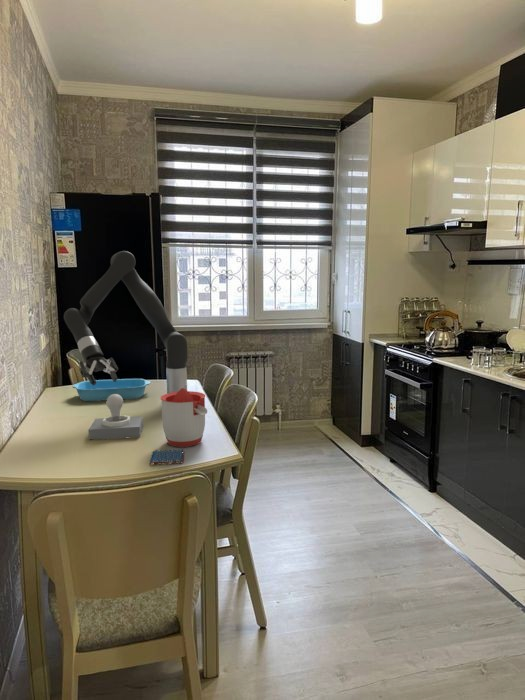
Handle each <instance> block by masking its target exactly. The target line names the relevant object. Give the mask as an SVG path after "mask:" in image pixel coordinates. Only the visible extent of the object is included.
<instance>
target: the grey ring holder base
mask: <svg viewBox="0 0 525 700" xmlns="http://www.w3.org/2000/svg"><path fill="white" fill-rule="evenodd" d="M143 428H144V418H143V416H129V415H125V414H120V420H119V421H118V422H113V420H112V415H110V416H107V417H101V418H94V420H93V422H92V424H91V425H89V428H88V440H89V439H101V440H108V439H107V438H119V439H127V438H126V437H137V438H141V435H142V432H141V431H142V430H143Z"/></svg>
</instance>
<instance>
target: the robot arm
mask: <svg viewBox="0 0 525 700" xmlns="http://www.w3.org/2000/svg"><path fill="white" fill-rule="evenodd" d="M136 262H137V261H136V258H135V255H134V254H133V253H131V252H129V251H128V250H127V251H126V250H122V251H118V252H116V253H115V254H113V255H112V256H111V258H110V266H109V268H108V270H107V271H106V272H105V273H104V274H103V275H102V276H101V278H99V279H98V280H97V281H96V282H95V283H94V284H93V285H92V286H91V287H90V288H89V289H88V290H87V291H86V293H85V294H84V295H83V296H82V297H81V298H80V301H79V304H80V309H78V308H75V307H70V308H68V309H67V310H66V311H65V312H64V313H63V321H64V322H65V325H66V326H67V328H68V329H69V330H70V332H71V334H72V336H73V337H74V340H75V343H76V344H77V348H78V350H79V353H80V356H81V357H82V360H83V361H84V362H83V361H79V364H78V366H77V368H78V369H79V372H80V375H81V378H84V379H85V378H87V379H88V381H90V383H91V384H92V385H95V384H96V380H97V379H96V378H95V376H94V374H93V372H94V373H97V372H104V373H107V374H109V375H110V377H111V380H113V382H116V380H117V379H118V376H117V374H116V373H117V371H118V370H119V367H118V365H117V364H116V361H115V360H114V358H113V357H110V358H108V359H106V358H105V356H104V353H103V351H102V349H101V346H100V345H99V343H98V341H97V340H96V338H95V337H94V334H93V332H92V331H91V328H89V326H88V325H89V323H90V322H91V321H92V320H91V319H92V318H93V316H94V313H95V311H96V310H97V308H98V307H99V306H100V305H101V303H102V302H103V301H104V300H105V298H106V297H107V296H108V295H109V294H110V292H111V291H112V290H113V289H114V287H115V286H116V285H117V284H118V283H119V282H120V281H122V282H123V284H124V285H125V286H126V288H127V290H128V291H129V294H130V295H131V297H132V298H133V299H134V300H133V301H135V303H136V305H137V306H138V308H139V309H140V310H141V312H142V314H143V315H144V316H145V318H146V319H147V321H148V322H149V323H150V324H151V325H152V327H153V328H154V329H155V330H156V332H157V334H158V335H159V337H160V340H161V341H162V343H163V345H164V347H165V349H166V351H167V352H166V354H167V356H166V358H167V360H166V361H165V365H166V367H165V368H166V370H165V371H166V375H165V376H166V394H168V393H172V392H178V391H179V390H180V389H181V388H185V389H186V390H187V391H188V373H187V363H188V340H187V338H186V337H185V335H183V334H181V333H179V332H178V330H176V329H175V327H174V325H173V324H172V323H171V321H170V320H169V317H168V315H167V312H166V310H165V307H164V306H163V304H162V302H161V300H160V299H159V297H158V296H157V294H156V292H155V291H153V289H152V288H151V287H150V286H149V285H148V283H146V282H145V281H144V280H143V279H142V278H141V277H140V275H139V274H138V272H137V270H136V269H135V266H136ZM86 368H88V369H89V370H88V372H87V370H86Z"/></svg>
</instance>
